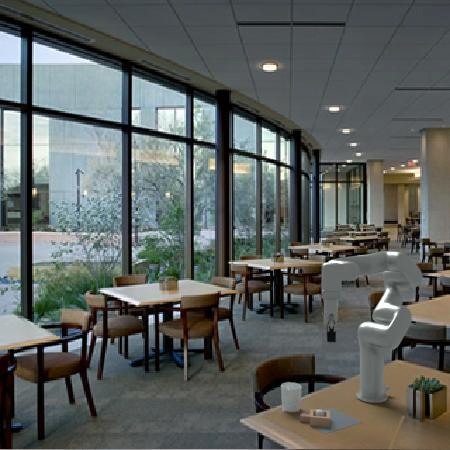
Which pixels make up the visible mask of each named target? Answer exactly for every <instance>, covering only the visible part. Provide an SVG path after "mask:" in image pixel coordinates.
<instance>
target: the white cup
mask: <svg viewBox="0 0 450 450" xmlns="http://www.w3.org/2000/svg"><path fill="white" fill-rule="evenodd" d="M280 388H281V389H280V390H281V391H280V393H281V405H282V406H281V407H282V408H281V409H282V412H283V413H284V412H288V413H296V412H299V411H300V410H301V405H302V389H303V388H302V385H301V384H300V383H297V382H283V383H281V385H280Z"/></svg>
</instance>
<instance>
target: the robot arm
mask: <svg viewBox="0 0 450 450" xmlns="http://www.w3.org/2000/svg"><path fill="white" fill-rule="evenodd" d="M380 273H383V274H382V278H383V283H384V293H383V294H382V296H381V298H380V300H379V302H378V303H377V304H376V306H375V308H374V310H373V312H372V320H373V321H364V322H362V323H360V324H359V326H358V328H357V339H358V344H359V390H358V391H356V393H355V397H356V398H357V399H358V400H360V401H362V402H365V403H369V404H384V403H385V402H387V401H388V395H387V394H386V392H388V391H391V390H392V388H391V386H390V385H386V386H384V383H385V381H384V380H385V376H384V375H385V371H384V369H385V365H384V363H385V357H384V353H383V350H382V349H385V350H389V351H392V350H393V351H394V350H395V349H396V348H397V349H398V347H399V345H400V344H401V342H402V340H403V339H404V337H405V335H406V333H407V332H408V330H409V328H410V326H411V325H412V324H411V323H412V319H413V316H412V312H411V310H410V309H409V308H408V307H407V306H404V305H403V303H404V294H403V292H402V289H401V287H407V288H417V287H419V286H420V285H421V284H422V283H423V273H422V271H421V269H420V268H419V266H418V265H417V264H416V263H415V261H414V260H413V259H411V258H410V256H408V254H406V253H404V252H402V251H393V250H392V251H391V250H382V251H378V252H373V253H369V254H362V255H353V256H347V257H346V256H344V257H338V258H335V259H331V260H329V261H328V262H323V263H322V265H321V299H323V325H324V326H326V342H327V343H336V342H337V340H336V339H337V337H336V336H337V332H336V326H338V316H339V301H340V300H342V288H343V287H342V286H343V284H342V281H345V282H346V281H347V282H352V281H355V280H357V279H358V278H359V277H360V276H373V275H376V274H380Z"/></svg>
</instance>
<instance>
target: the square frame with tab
mask: <svg viewBox="0 0 450 450" xmlns="http://www.w3.org/2000/svg"><path fill="white" fill-rule="evenodd" d="M316 410H317V409H313V408H310V410H309V413H310V414H308V413H305V414H302V413H300V415H299V416H300V420H299V422H303V423H304V422H310V425H313V426H324V427H330V411H327V410H324V417H323V416H316ZM310 425H309V426H310Z"/></svg>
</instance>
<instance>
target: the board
mask: <svg viewBox="0 0 450 450" xmlns="http://www.w3.org/2000/svg"><path fill="white" fill-rule="evenodd" d="M315 410H316V416H323V417H324V410H327V411H330V427H324V426H313V425H310V422H303V423H304V424H306V425H308V426H310V427H312V428H313V429H315V430H316V431H317V430H318V432H320V433H322V434H324V435H326V434H329V433H332V432H336V431H339V430H342V429H345V428H348V427H349V428H350V427H352V426H355V425H358V424H362V423H363V421H360V420H358V419H356V418H353V417H352V416H350V415H347V414H345V413H343V412H341V411H340V410H338V409H336V408H333V407H327V408H323V409H315ZM301 414H306V413H305V412H303V413H301ZM307 414H310V412H307ZM294 418H295V419H296V420H297V419H298V420H299V421H300V415H297V416H295V417H294Z"/></svg>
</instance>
